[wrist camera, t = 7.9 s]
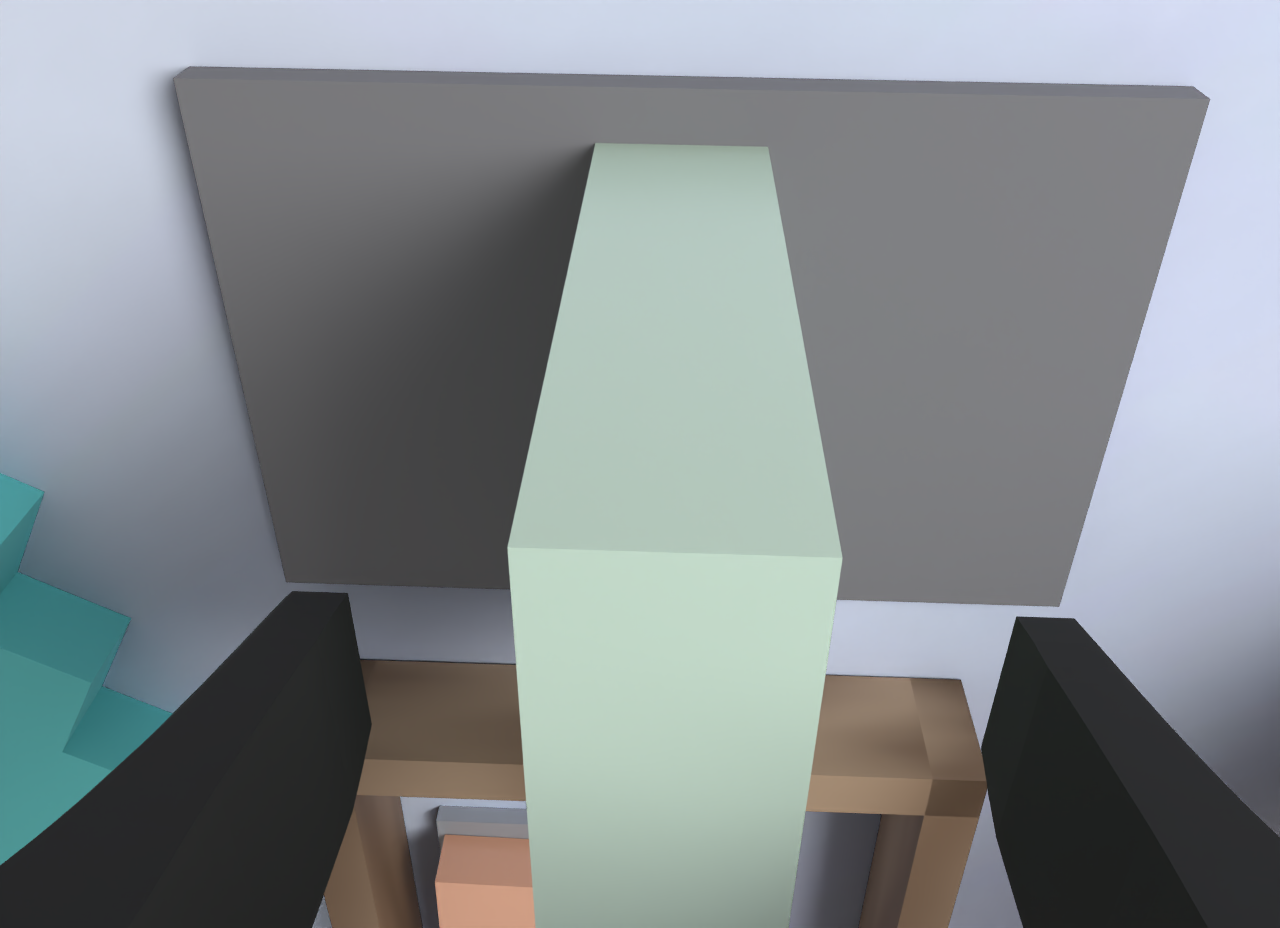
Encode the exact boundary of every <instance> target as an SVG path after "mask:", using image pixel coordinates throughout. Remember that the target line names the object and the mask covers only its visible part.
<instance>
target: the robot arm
mask: <svg viewBox="0 0 1280 928" xmlns="http://www.w3.org/2000/svg"><path fill="white" fill-rule="evenodd" d="M371 726H372V722H371V717H370V711H369V706H368V700H367V695H366V690H365V684H364V679H363V673H362V668H361V662H360V657H359V651H358V646H357V641H356V635H355V630H354V624H353V619H352V613H351V608H350V602H349V597H348V593H329V592H301V591H292V592H291V593H290V594H289V595H288V596H287V597H286V598H285V599H283V601H282V602H281V603H280V604H279V605H278V606H277V607H276V608H275V609H274V610H273V611H272V612H271V613H270V614H269V615H268V616H267V617H266V618H265V619H264V620H263V621H262V622H261V623H260V624H259V626H258V627H257V628H256V629H255V630H254V631H253V632H252V633H251V634H250V635H249V636H248V637H247V638H246V639H245V640H244V641H243V642H242V643H241V645H240V646H239V647H238V648H237V649H236V650H235V651H234V652H233V653H232V654H231V655H230V656H229V657H228V658H227V659H226V660H225V661H224V662H223V663H222V664H221V665H220V666H219V667H218V669H217V670H216V671H215V672H214V673H213V674H212V675H211V676H210V677H209V678H208V679H207V680H206V681H205V682H204V683H203V684H202V685H201V686H200V687H199V688H198V689H197V690H196V691H195V692H194V693H193V694H192V695H191V696H190V697H189V698H188V699H187V700H186V701H185V702H184V703H183V704H182V705H181V706H180V707H179V708H178V709H177V710H176V711H175V712H174V713H173V714H172V715H171V716H170V717H169V718H168V719H167V720H166V721H165V722H164V723H163V724H162V725H161V726H160V727H159V728H158V729H157V730H156V731H155V732H154V733H153V734H152V735H150V736H149V737H148V738H147V739H146V740H145V741H144V742H143V743H142V744H141V745H140V746H139V747H138V748H137V749H136V750H134V751H133V752H132V753H131V754H130V755H129V756H128V757H127V758H126V759H125V760H123V761H122V762H121V763H120V764H119V765H118V766H117V767H116V768H115V769H114V770H112V771H111V772H110V773H109V774H108V775H107V776H106V777H105V778H104V779H103V780H101V781H100V782H99V783H98V784H97V785H96V786H95V787H94V788H93V789H92V790H90V791H89V792H88V793H87V794H86V795H85V796H84V797H83V798H82V799H80V800H79V801H78V802H77V803H76V804H75V805H74V806H72V807H71V808H70V809H69V810H68V811H66V812H65V813H64V814H63V815H62V816H61V817H59V818H58V819H57V820H56V821H55V822H53V823H52V824H51V825H50V826H49V827H47V828H46V829H45V830H44V831H43V832H41V833H40V834H39V835H38V836H36V837H35V838H34V839H33V840H32V841H30V842H29V843H28V844H27V845H25V846H24V847H23V848H21V849H20V850H19V851H18V852H16V853H15V854H14V855H13V856H11V857H10V858H9V859H7V860H6V861H5V862H4V863H2V864H1V865H0V928H312V926H313V923H314V920H315V918H316V915H317V912H318V909H319V906H320V904H321V901H322V898H323V895H324V892H325V890H326V887H327V884H328V881H329V878H330V876H331V873H332V870H333V867H334V864H335V861H336V858H337V856H338V853H339V850H340V847H341V844H342V841H343V838H344V835H345V833H346V830H347V827H348V824H349V821H350V818H351V815H352V812H353V808H354V804H355V800H356V795H357V791H358V787H359V782H360V778H361V774H362V769H363V765H364V760H365V755H366V750H367V745H368V741H369V736H370V731H371ZM981 751H982V757H983V763H984V770H985V776H986V782H987V788H988V795H989V800H990V806H991V811H992V817H993V822H994V827H995V833H996V838H997V841H998V845H999V848H1000V852H1001V855H1002V859H1003V862H1004V865H1005V869H1006V872H1007V875H1008V879H1009V882H1010V885H1011V889H1012V892H1013V895H1014V899H1015V902H1016V905H1017V909H1018V912H1019V915H1020V919H1021V922H1022V925H1023V928H1280V837H1278V836H1277V835H1276V834H1275V833H1274V832H1273V831H1272V830H1271V829H1270V828H1269V827H1268V826H1267V825H1266V824H1265V823H1264V822H1263V821H1262V820H1261V819H1260V818H1259V817H1258V816H1256V815H1255V814H1254V813H1253V812H1252V811H1251V810H1250V809H1249V808H1248V807H1247V806H1246V805H1245V804H1244V803H1243V802H1242V801H1241V800H1240V799H1239V798H1238V797H1237V796H1236V795H1235V794H1234V793H1233V792H1232V791H1231V790H1230V789H1229V788H1228V787H1227V786H1226V785H1225V784H1224V783H1223V782H1222V781H1221V780H1220V778H1219V777H1218V776H1217V775H1216V774H1215V773H1214V772H1213V771H1212V770H1211V769H1210V768H1209V767H1208V766H1207V765H1206V764H1205V763H1204V762H1203V761H1202V760H1201V758H1200V757H1199V756H1198V755H1197V754H1196V753H1195V752H1194V751H1193V750H1192V749H1191V748H1190V747H1189V746H1188V745H1187V744H1186V743H1185V742H1184V741H1183V740H1182V738H1181V737H1180V736H1179V735H1178V734H1177V733H1176V732H1175V731H1174V730H1173V729H1172V728H1171V726H1170V725H1169V724H1168V723H1167V722H1166V721H1165V720H1164V719H1163V718H1162V717H1161V715H1160V714H1159V713H1158V712H1157V711H1156V710H1155V709H1154V708H1153V706H1152V705H1151V704H1150V703H1149V702H1148V701H1147V700H1146V699H1145V698H1144V696H1143V695H1142V694H1141V693H1140V692H1139V691H1138V690H1137V689H1136V688H1135V686H1134V685H1133V684H1132V683H1131V682H1130V681H1129V680H1128V678H1127V677H1126V676H1125V675H1124V674H1123V673H1122V672H1121V671H1120V669H1119V668H1118V667H1117V666H1116V665H1115V664H1114V663H1113V661H1112V660H1111V659H1110V658H1109V657H1108V656H1107V655H1106V654H1105V652H1104V651H1103V650H1102V649H1101V648H1100V647H1099V646H1098V645H1097V643H1096V642H1095V641H1094V640H1093V639H1092V638H1091V637H1090V636H1089V634H1088V633H1087V632H1086V631H1085V630H1084V629H1083V628H1082V627H1081V625H1080V624H1079V623H1078V622H1077V621H1076V620H1075V619H1072V618H1043V617H1016V620H1015V624H1014V627H1013V631H1012V635H1011V639H1010V642H1009V646H1008V650H1007V653H1006V657H1005V661H1004V664H1003V668H1002V672H1001V676H1000V679H999V683H998V687H997V690H996V694H995V698H994V702H993V705H992V709H991V713H990V716H989V720H988V724H987V728H986V731H985V735H984V739H983V742H982V746H981Z"/></svg>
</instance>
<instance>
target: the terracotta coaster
mask: <svg viewBox="0 0 1280 928" xmlns="http://www.w3.org/2000/svg"><path fill="white" fill-rule="evenodd" d="M435 888H436V898H437V907H438V917H439V926H440V928H536V927H535V914H534V900H533V886H532V873H531V859H530V846H529V839H518V838H500V837H482V836H464V835H445V836H444V841H443V846H442V851H441V855H440V860H439V865H438V870H437V874H436V879H435Z"/></svg>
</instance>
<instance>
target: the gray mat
mask: <svg viewBox="0 0 1280 928" xmlns="http://www.w3.org/2000/svg"><path fill="white" fill-rule="evenodd" d="M173 80H174V84H175V89H176V93H177V98H178V102H179V107H180V111H181V115H182V120H183V124H184V129H185V133H186V138H187V142H188V147H189V151H190V156H191V160H192V165H193V169H194V173H195V178H196V182H197V187H198V191H199V196H200V200H201V205H202V209H203V214H204V218H205V222H206V227H207V231H208V236H209V240H210V245H211V249H212V254H213V258H214V263H215V267H216V272H217V276H218V280H219V285H220V289H221V294H222V298H223V303H224V307H225V312H226V316H227V321H228V325H229V329H230V334H231V338H232V343H233V347H234V352H235V356H236V361H237V365H238V370H239V374H240V379H241V383H242V387H243V392H244V396H245V401H246V405H247V410H248V414H249V419H250V423H251V428H252V432H253V437H254V441H255V445H256V450H257V454H258V459H259V463H260V468H261V472H262V477H263V481H264V486H265V490H266V494H267V499H268V503H269V508H270V512H271V517H272V521H273V526H274V530H275V535H276V539H277V544H278V548H279V552H280V557H281V561H282V566H283V570H284V575H285V579H286V582H295V583H326V584H358V585H390V586H421V587H453V588H485V589H510V575H509V562H508V548H507V547H508V543H509V538H510V533H511V529H512V524H513V520H514V515H515V510H516V506H517V501H518V497H519V492H520V487H521V483H522V478H523V474H524V469H525V464H526V460H527V455H528V451H529V446H530V441H531V437H532V432H533V428H534V423H535V418H536V414H537V409H538V405H539V400H540V396H541V391H542V386H543V382H544V377H545V373H546V368H547V363H548V359H549V354H550V350H551V345H552V340H553V336H554V331H555V327H556V322H557V317H558V313H559V308H560V304H561V299H562V294H563V290H564V285H565V281H566V276H567V271H568V267H569V262H570V258H571V253H572V248H573V244H574V239H575V235H576V230H577V225H578V221H579V216H580V212H581V207H582V202H583V198H584V193H585V189H586V184H587V179H588V175H589V170H590V166H591V161H592V156H593V152H594V147H595V143H617V144H663V145H708V146H754V147H768V149H769V155H770V160H771V166H772V171H773V177H774V182H775V188H776V193H777V199H778V204H779V210H780V215H781V221H782V226H783V232H784V237H785V243H786V248H787V254H788V259H789V265H790V270H791V276H792V281H793V287H794V292H795V298H796V304H797V309H798V315H799V320H800V326H801V331H802V337H803V342H804V348H805V353H806V359H807V364H808V370H809V375H810V381H811V386H812V392H813V397H814V403H815V408H816V414H817V419H818V425H819V430H820V436H821V441H822V447H823V452H824V458H825V463H826V469H827V474H828V480H829V486H830V491H831V497H832V502H833V508H834V513H835V519H836V524H837V530H838V535H839V541H840V546H841V552H842V557H843V559H842V565H841V572H840V579H839V586H838V593H837V600H865V601H896V602H928V603H960V604H991V605H1023V606H1055V607H1059V605H1060V602H1061V599H1062V595H1063V592H1064V589H1065V585H1066V582H1067V579H1068V575H1069V572H1070V568H1071V565H1072V562H1073V558H1074V555H1075V552H1076V548H1077V545H1078V542H1079V538H1080V535H1081V531H1082V528H1083V525H1084V521H1085V518H1086V515H1087V511H1088V508H1089V505H1090V501H1091V498H1092V495H1093V491H1094V488H1095V484H1096V481H1097V478H1098V474H1099V471H1100V468H1101V464H1102V461H1103V458H1104V454H1105V451H1106V447H1107V444H1108V441H1109V437H1110V434H1111V431H1112V427H1113V424H1114V421H1115V417H1116V414H1117V410H1118V407H1119V404H1120V400H1121V397H1122V394H1123V390H1124V387H1125V384H1126V380H1127V377H1128V374H1129V370H1130V367H1131V363H1132V360H1133V357H1134V353H1135V350H1136V347H1137V343H1138V340H1139V337H1140V333H1141V330H1142V326H1143V323H1144V320H1145V316H1146V313H1147V310H1148V306H1149V303H1150V300H1151V296H1152V293H1153V290H1154V286H1155V283H1156V279H1157V276H1158V273H1159V269H1160V266H1161V263H1162V259H1163V256H1164V253H1165V249H1166V246H1167V242H1168V239H1169V236H1170V232H1171V229H1172V226H1173V222H1174V219H1175V216H1176V212H1177V209H1178V206H1179V202H1180V199H1181V195H1182V192H1183V189H1184V185H1185V182H1186V179H1187V175H1188V172H1189V169H1190V165H1191V162H1192V158H1193V155H1194V152H1195V148H1196V145H1197V142H1198V138H1199V135H1200V132H1201V128H1202V125H1203V121H1204V118H1205V115H1206V111H1207V108H1208V105H1209V101H1210V99H1209V98H1208V97H1207V96H1205V95H1204V94H1203V93H1201V92H1200V91H1199V90H1197V89H1196V88H1195V87H1193V86H1143V85H1093V84H1042V83H991V82H941V81H890V80H840V79H789V78H739V77H688V76H637V75H587V74H536V73H486V72H435V71H384V70H334V69H283V68H233V67H188V68H187V69H186V70H184V71H183V72H181V73H180V74H179V75H177V76H176V77H174V78H173Z"/></svg>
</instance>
